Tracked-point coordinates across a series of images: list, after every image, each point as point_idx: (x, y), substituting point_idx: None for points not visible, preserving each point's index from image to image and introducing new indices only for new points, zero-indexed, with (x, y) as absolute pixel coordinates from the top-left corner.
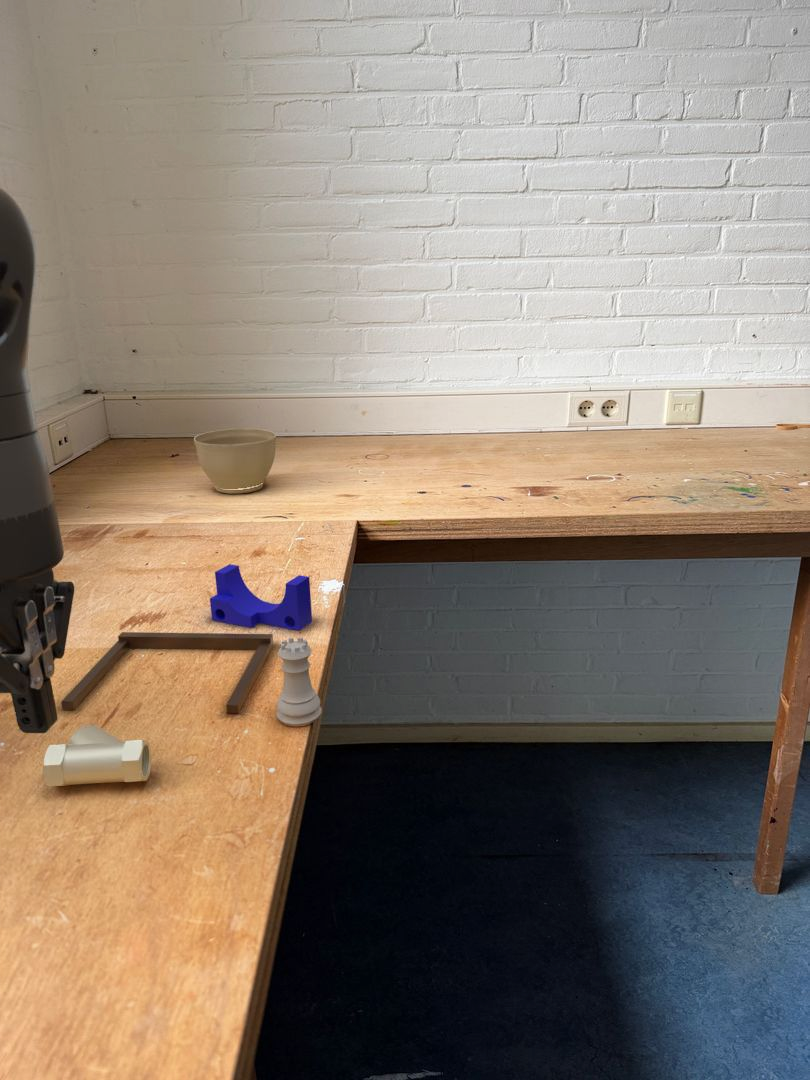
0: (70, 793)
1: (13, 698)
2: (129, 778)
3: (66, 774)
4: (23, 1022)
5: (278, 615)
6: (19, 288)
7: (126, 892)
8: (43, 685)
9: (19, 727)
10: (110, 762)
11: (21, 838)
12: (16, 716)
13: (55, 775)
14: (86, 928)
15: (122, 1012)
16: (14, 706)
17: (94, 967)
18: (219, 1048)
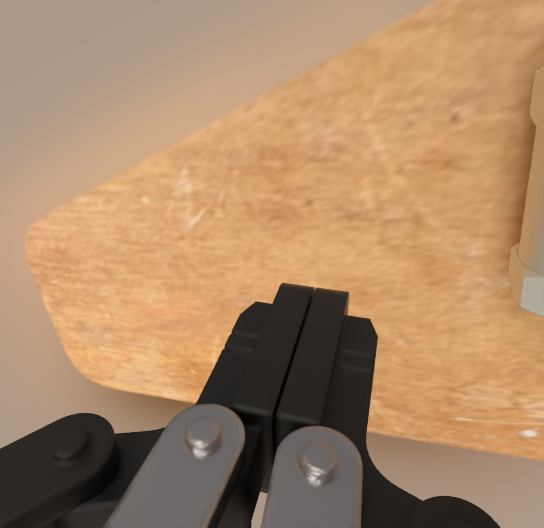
0: None
1: (201, 398)
2: (511, 261)
3: (536, 135)
4: (57, 226)
5: None
6: None
7: (247, 283)
8: (260, 491)
9: (249, 307)
10: (533, 248)
11: (373, 65)
12: (230, 338)
13: (538, 107)
14: (182, 252)
15: (97, 310)
16: (214, 369)
17: (134, 275)
18: (93, 379)
